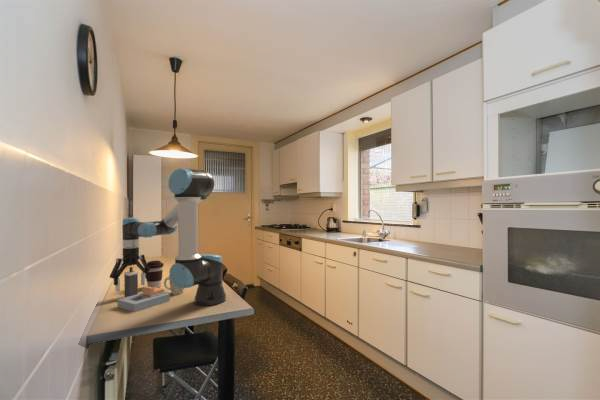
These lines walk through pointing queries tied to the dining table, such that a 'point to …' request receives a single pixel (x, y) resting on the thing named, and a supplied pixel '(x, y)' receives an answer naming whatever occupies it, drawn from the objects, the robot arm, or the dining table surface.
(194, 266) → the robot arm
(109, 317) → the dining table surface
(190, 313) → the dining table surface
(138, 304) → the socket plate
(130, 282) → the plug
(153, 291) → the block
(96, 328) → the dining table surface
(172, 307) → the dining table surface
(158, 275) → the coffee cup
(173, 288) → the mug
